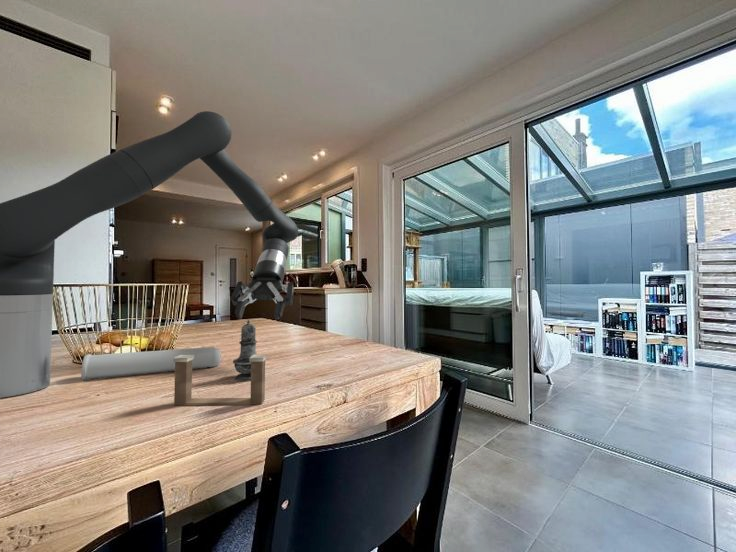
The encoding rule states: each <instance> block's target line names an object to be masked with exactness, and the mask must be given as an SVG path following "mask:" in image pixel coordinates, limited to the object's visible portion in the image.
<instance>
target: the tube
mask: <svg viewBox="0 0 736 552" xmlns="http://www.w3.org/2000/svg"><path fill="white" fill-rule="evenodd" d="M179 355H194V359H192V370H198V369H199V368H200V369H207V367H210V368H215V366H216V367H217V366H219V365H220V364H221V360H222V353H221V349H220V348H217V347H215V346H206V347H194V348H193V347H192V348H191V347H190V348H178V349H176V348H175V349H163V350H149V351H135V352H133V351H132V352H120V353H119V352H118V353H104V354H91V353H87V354H86V355H85V356H84V357H83V359H82V362H81V363H82V364H81V376H80V377H81V379H82V381H83V380H85V381H89V380H88V379H90V380H98V379H99V378H100V379H109V378H119V377H127V376H129V377H130V376H138V375H149V374H159V372H160V373H167V372H168V371H170V372H175V362H173V358H175V357H177V356H179Z"/></svg>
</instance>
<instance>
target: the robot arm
mask: <svg viewBox="0 0 736 552" xmlns="http://www.w3.org/2000/svg"><path fill="white" fill-rule="evenodd" d="M231 139H232V129H231V125H230V123H229V122H228V120H227V119H226V118H225V117H224V116H222V115H221V114H219V113H218V112H215V111H214V112H213V111H209V110H208V111H206V110H204V111H199V112H198V113H196V114H194V115H193V116H192V117H190V118H189V119H188V120H186V121H185V122H183V123H182V124H180V125H178V126H176V127H175V128H172V129H171V130H170V131H167V132H164V133H161V134H159V135H156V136H153V137H150V138H146V139H144V140H141V141H138V142H137V143H136V142H135V143H133V144H131V145H128V146H126V147H124V148H120V149H118V150H116V151H114V152H111V153H109V154H108V155H106V156H103V157H102V158H99V159H98V160H96V161H94V162H92V163H89V164H88V165H86V166H84V167H82V168H80V169H79V170H77V171H75V172H73V173H71V174H70V175H68V176H66V177H64V179H61V180H60V181H58V182H56V183H53V184H51V185H48V186H46V187H42V188H40V189H38V190H35V191H32V192H29V193H26V194H24V195H20V196H18V197H15V198H13V199H9V200H6V201H2V202H0V399H1V398H8V397H14V396H15V397H16V396H20V395H24V394H28V393H29V394H30V393H33V392H36V391H39V390H43V389H45V388H47V387H49V386H50V384H51V367H52V362H51V361H52V336H53V335H52V333H53V303H54V302H53V300H54V299H53V297H54V296H53V295H54V294H53V293H54V278H55V277H54V276H55V270H54V269H55V267H54V266H55V243H56V242H55V240H56V239H58V238H59V237H61V236H62V235H64V234H65V233H67V232H68V231H69V230H71V229H72V228H74V227H75V226H76V225H79V224H80V223H82V222H83V221H85V220H87V219H88V218H91V217H93V216H95V215H98V214H100V213H103V212H105V211H108V210H113V209H114V208H117V207H119V206H123V205H125V204H127V203H129V202H132V201H133V200H136V199H138V198H140V197H142V196H143V195H145V194H147V193H149V192H150V191H152V190H154V189H156V188H157V187H158V186H160V185H162V184H163V183H164V182H166V181H168V180H169V179H171V178H172V177H173V176H175V175H176V174H177V173H178V172H180V171H181V170H182V169H184V168H185V167H186V166H187V165H189V164H191V163H192V162H195V161H196V160H198V159H200V160H201V161H202V162H203V163H204V164H205V165H206V166H207V167H208V168H209V169H210V170H211V171H212V172H213V173H215V175H216V176H217V177H218V178H220V180H221V181H222V182H223V183H224V184H225V185H226V186H227V187H228V188H229V189H230V190H231V192H232V193H233V194H234V195H235V196H236V197H237V199H238V200H239V202H241V203H242V205H243V206H244V208H245V209H246V210H247V211H248V212H249V214H250V215H251V217H252V218H253V219H254V220H255V221H257V222H259V223H262V222H263V223H264V222H271V223H272V224H270V225H267V226H266V227H265V228H264V229H263V231H262V244H263V245H262V246H263V248H262V250H261V254H260V256H259V257H258V260H257V263H256V266H255V269H254V271H253V274H252V279H251V281H250V282H249V283H247V284H246V283H243V281H238V282H237V283H236V285H235V288H234V289H233V292H232V294H231V295H230V299H231V302H232V305H233V306H234V307H235V309H234V314H235V317H236V318H237V319H238V320H242V319H243V317H244V314H245V309H246V307H247V305H249V304H253V303H254V302H255V301H263V300H265V301H271V300H273V301H274V302H275V309H274V313H273V314H274V319H275V320H279V319H280V318H282V316H283V314H284V313H283V312H284V309H285V307H286V306H288V307H291V306H293V302H294V301H293V300H294V293H295V289H294V284H293V282H292V281H289V282H288V283H287V284H283V282H284V278H285V273H286V271H287V260H288V255H289V248H290V247H289V246H288V244H289V243H291V242H292V241H295V240H296V239H297V238H298V236H299V228H298V225H297V224H296V223H295V221H294V220H293V219H291V217H289V216H288V215H287V214H285V213H284V211H282V210H281V209H280V208H278V206H276V205H275V204H274V202H273V201H272V200H271V198H270V197H269V195H268V194H267V193H266V191H265V190H264V189H263V188H262V187H261V185H260V184H259V183H258V182H257V181H255V180H254V179H253V178H252V177H251V176H250V175H248V174H247V173H246V172H244V171H243V170H242V169H241V168H240V167H239V166H238V165H237V164H236V163H235V162H234V161H233V160H232V159H231V157H230V155H229V154H228V153H227V151H226V150H225V149H226V148H227V147H228V145H229V144H230V142H231ZM283 291H284V292H285V293H286V297H285V298H284V297H283V296H282V295H281V294H280V293H282V292H283Z"/></svg>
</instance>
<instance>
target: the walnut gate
mask: <svg viewBox="0 0 736 552" xmlns="http://www.w3.org/2000/svg"><path fill="white" fill-rule="evenodd" d="M267 357H268V355H267V354H257V355H253V356H251V357H250V362H251V381H250V397H215V398H214V397H207V398H205V397H203V398H201V397H195V398H192V387H193V386H192V384H193V383H192V382H193V369H192V359H194V355H179V356H177V357H175V358H173V362H175V371H174V395H173V396H174V399H173V403H174V404H173V405H174V406H242V405H243V406H244V405H245V406H246V405H249V406H250V405H263V403H264V402H265V400H266V399H265V397H266V396H265V394H266V393H265V392H266V390H265V389H266V388H265V387H266V359H267Z"/></svg>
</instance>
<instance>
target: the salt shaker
mask: <svg viewBox="0 0 736 552" xmlns="http://www.w3.org/2000/svg"><path fill="white" fill-rule="evenodd" d="M246 322H247V323H246V324H244V325H242V327H241V329H240V332H241V333H240V336H241V337H240V341H239V342H238V343H239V344H240V352H239V356H238V357H237V358H236V359H234V360H233V361H232V363H233V365H234V369H235V370H236V371H237V372H238V373H239V374H236V375H235V376H234V377H233V379H234V380H235V381H236V382H251V362H250V357H251V356H253V355H258V354H257V351H256V349H257V347H256V346H257V343H258V340H256V326H255V325H253V324H252V323H251V321H250V319H247V321H246Z"/></svg>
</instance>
